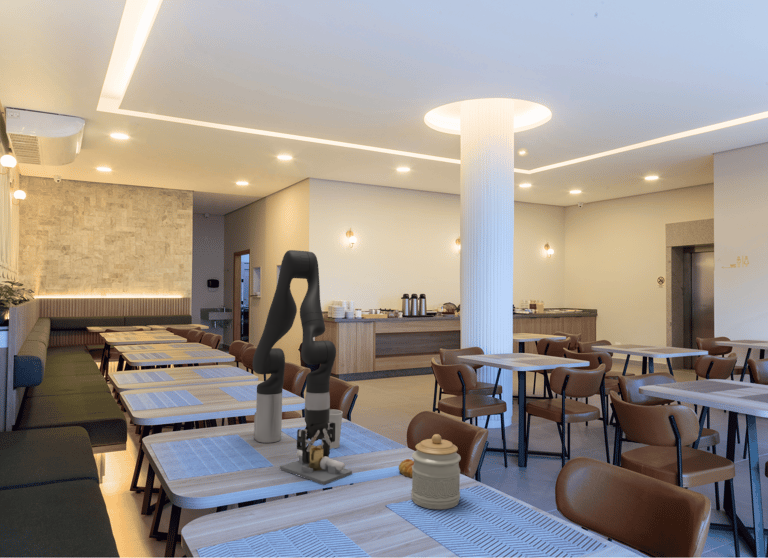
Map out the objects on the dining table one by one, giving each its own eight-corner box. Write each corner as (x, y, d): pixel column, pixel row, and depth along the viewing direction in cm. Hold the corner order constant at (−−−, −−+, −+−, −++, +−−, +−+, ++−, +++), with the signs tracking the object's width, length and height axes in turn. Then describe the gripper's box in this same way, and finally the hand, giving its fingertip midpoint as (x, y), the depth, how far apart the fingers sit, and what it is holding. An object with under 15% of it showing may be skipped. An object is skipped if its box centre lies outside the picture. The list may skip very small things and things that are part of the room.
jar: (403, 495, 147) (404, 430, 147) (444, 488, 152) (445, 426, 152) (425, 513, 135) (426, 443, 135) (469, 506, 140) (470, 438, 140)
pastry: (431, 478, 161) (431, 465, 161) (412, 482, 157) (413, 469, 157) (413, 469, 169) (414, 456, 169) (395, 472, 165) (395, 460, 165)
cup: (343, 443, 194) (344, 410, 194) (339, 450, 186) (340, 415, 186) (321, 442, 195) (322, 409, 195) (317, 448, 187) (317, 414, 187)
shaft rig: (279, 469, 165) (280, 452, 165) (308, 460, 174) (309, 444, 174) (323, 484, 153) (324, 467, 153) (352, 474, 162) (352, 457, 162)
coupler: (305, 468, 163) (306, 446, 163) (316, 464, 167) (316, 443, 167) (315, 471, 160) (315, 449, 161) (326, 468, 164) (326, 446, 164)
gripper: (325, 400, 172) (324, 452, 171) (291, 408, 160) (289, 463, 160) (342, 404, 167) (341, 457, 167) (308, 412, 156) (307, 468, 155)
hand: (316, 460), depth 163 cm, fingers open, 7 cm apart
